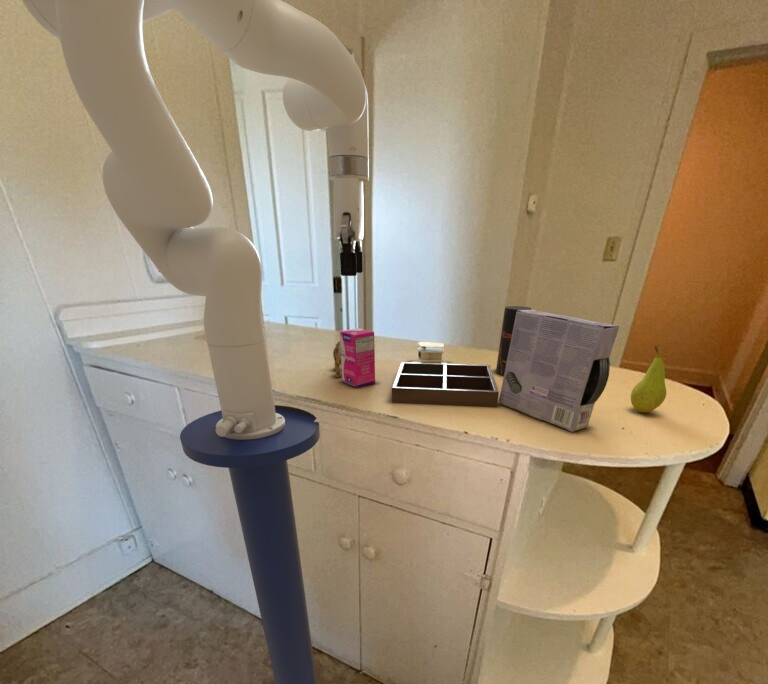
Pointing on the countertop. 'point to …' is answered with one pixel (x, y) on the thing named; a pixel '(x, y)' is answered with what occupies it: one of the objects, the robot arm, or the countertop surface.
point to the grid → (445, 384)
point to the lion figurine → (337, 358)
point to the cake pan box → (557, 367)
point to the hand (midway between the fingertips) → (352, 274)
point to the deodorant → (507, 336)
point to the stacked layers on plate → (430, 353)
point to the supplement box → (357, 357)
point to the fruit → (650, 387)
